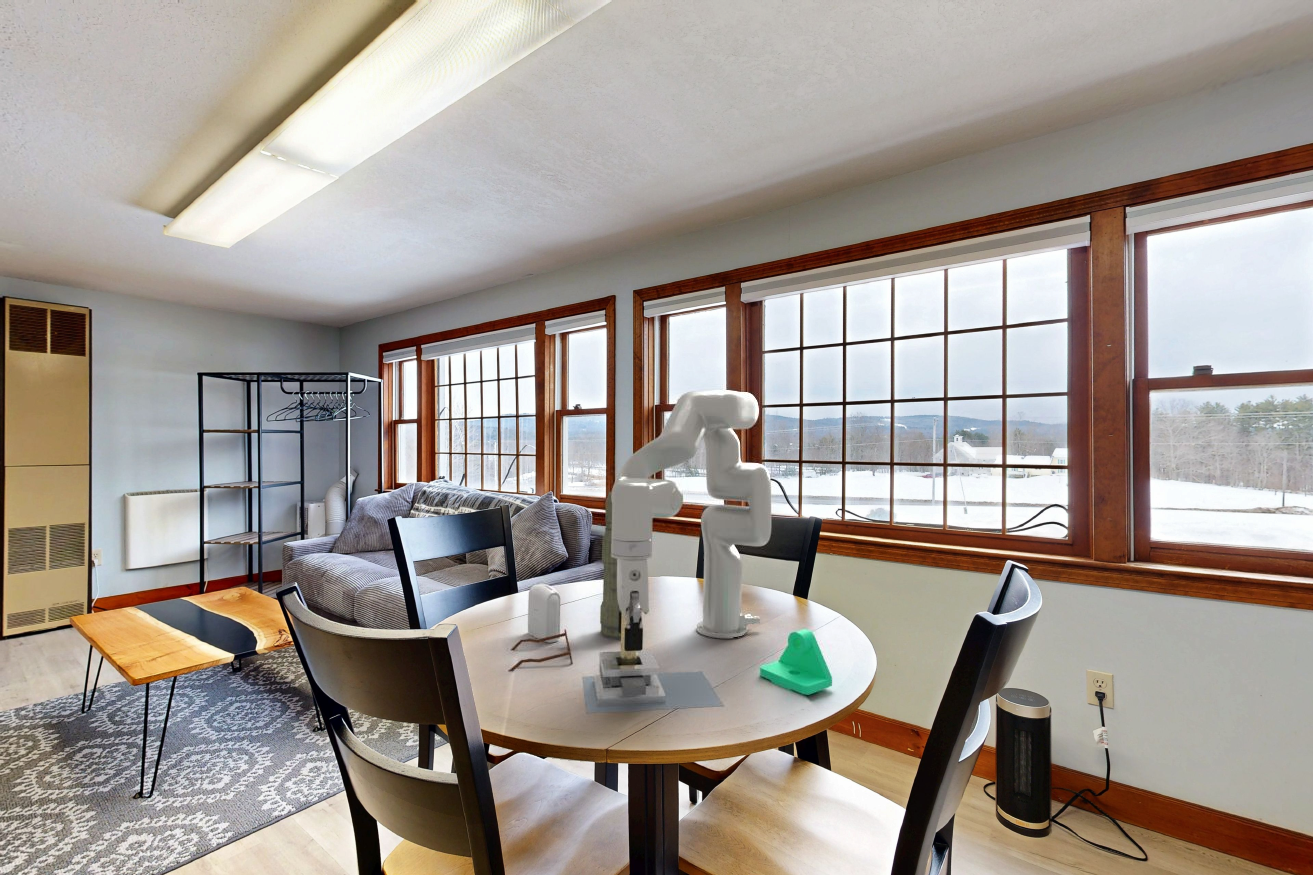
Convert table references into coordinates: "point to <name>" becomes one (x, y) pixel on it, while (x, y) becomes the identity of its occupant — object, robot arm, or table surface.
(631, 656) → the pin
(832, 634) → the table surface
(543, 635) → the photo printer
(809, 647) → the camera mount
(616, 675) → the clevis
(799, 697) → the table surface
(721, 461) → the robot arm
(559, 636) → the glasses
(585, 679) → the mat
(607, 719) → the table surface
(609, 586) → the thermos
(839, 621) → the table surface
